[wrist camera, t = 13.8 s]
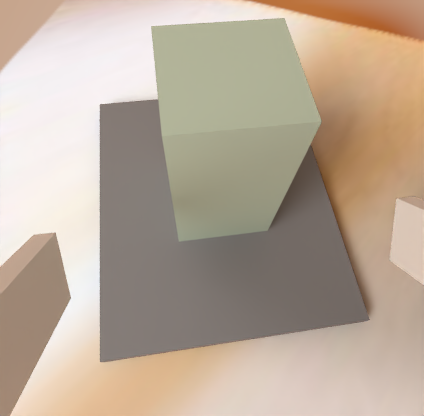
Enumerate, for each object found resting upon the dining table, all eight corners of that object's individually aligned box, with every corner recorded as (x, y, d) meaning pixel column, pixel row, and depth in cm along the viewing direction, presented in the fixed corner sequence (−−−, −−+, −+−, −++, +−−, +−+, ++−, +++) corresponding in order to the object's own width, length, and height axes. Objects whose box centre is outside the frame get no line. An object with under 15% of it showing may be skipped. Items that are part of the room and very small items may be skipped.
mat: (289, 95, 29) (291, 88, 28) (363, 321, 21) (369, 319, 20) (102, 111, 27) (99, 104, 27) (103, 362, 19) (99, 361, 19)
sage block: (250, 157, 25) (284, 18, 15) (267, 230, 22) (321, 121, 12) (170, 165, 24) (151, 26, 14) (178, 241, 22) (161, 136, 12)
